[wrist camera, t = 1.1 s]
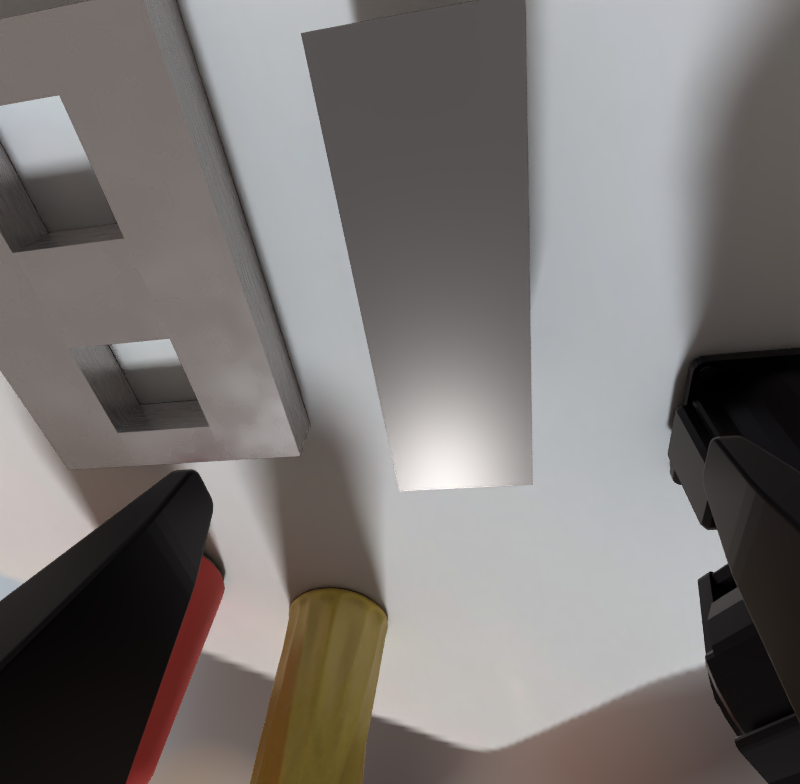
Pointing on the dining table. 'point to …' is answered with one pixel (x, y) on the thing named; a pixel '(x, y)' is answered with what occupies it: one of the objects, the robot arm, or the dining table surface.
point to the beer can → (179, 670)
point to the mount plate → (137, 254)
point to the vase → (323, 691)
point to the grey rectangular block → (437, 229)
